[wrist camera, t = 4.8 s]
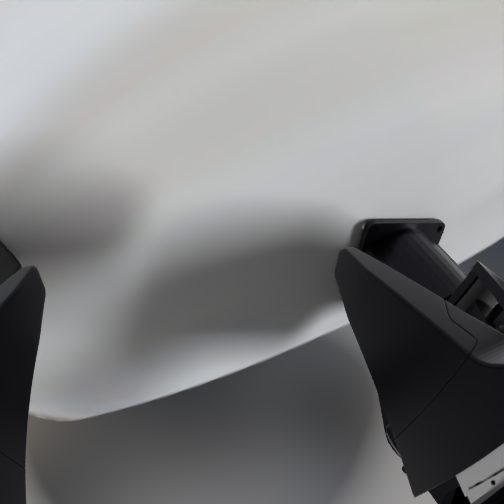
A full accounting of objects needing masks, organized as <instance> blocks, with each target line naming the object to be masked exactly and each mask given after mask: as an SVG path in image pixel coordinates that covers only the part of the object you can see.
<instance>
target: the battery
mask: <svg viewBox="0 0 504 504" xmlns="http://www.w3.org/2000/svg"><path fill="white" fill-rule="evenodd" d="M20 269H21V264H20V262H19V261H18V260H17V259H16V258H15V256H14V255H13V254H12V253H11V252H10V251H9V250H8V249H7V247H6V246H5V245H4V244H3V243H2V242H1V241H0V285H1V284H2V283H4V282H5V281H6V280H7V279H9V278H10V277H11V276H12V275H13V274H15V273H16V272H17V271H19V270H20Z"/></svg>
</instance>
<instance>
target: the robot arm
mask: <svg viewBox="0 0 504 504" xmlns="http://www.w3.org/2000/svg"><path fill="white" fill-rule="evenodd" d="M373 228H374V230H372V229H373ZM444 228H445V224H444V223H443V222H442V221H441V220H439V219H425V220H371V221H369V222H368V223H367V224H366V225H365V228H364V231H363V235H362V238H361V241H360V245H359V248H358V249H357V248H355V247H348V248H342V249H341V250H340V253H339V257H338V260H337V264H336V268H335V278H336V281H337V284H338V288H339V291H340V294H341V297H342V301H343V304H344V307H345V311H346V314H347V317H348V320H349V322H350V325H351V327H352V329H353V332H354V334H355V336H356V339H357V341H358V344H359V346H360V349H361V351H362V354H363V356H364V359H365V361H366V364H367V366H368V369H369V371H370V374H371V376H372V379H373V381H374V384H375V386H376V389H377V392H378V396H379V401H380V406H381V412H382V418H383V423H384V429H385V433H386V437H387V440H388V443H389V444H390V445H391V447H392V449H393V450H394V451H395V452H396V454H398V456H399V457H401V459H402V462H403V465H404V466H403V467H402V470H403V472H404V473H406V474H407V476H408V480H409V483H410V486H411V490H412V493H413V495H414V497H417V496H419V495H421V494H423V493H425V492H427V491H429V492H430V494H431V495H432V496H433V498H434V499H435V501H436V502H437V503H438V504H504V281H502V279H500V278H499V277H498V276H497V275H495V274H494V273H493V272H492V271H490V270H489V269H488V268H487V267H485V266H484V265H483V264H482V263H480V262H479V261H476V262H475V264H474V265H473V266H472V267H471V269H472V270H471V272H470V273H469V274H468V275H467V274H466V273H464V271H463V270H462V269H461V268H460V267H459V266H458V265H457V264H456V262H455V261H454V260H453V259H452V258H451V257H450V256H449V255H448V254H447V253H446V252H445V251H444V250H443V249H442V248H441V247H440V246H439V245H438V244H439V241H440V239H441V236H442V234H443V231H444ZM45 295H46V292H45V287H44V284H43V282H42V279H41V277H40V274H39V272H38V269H37V268H36V267H35V266H25V267H22V268H21V269H20V270H19V271H17V272H16V273H15V274H13V275H12V276H11V277H10V278H9V279H7V280H6V281H5V282H4V283H2V284H1V285H0V504H26V488H25V487H26V486H25V456H26V436H27V435H26V434H27V421H28V412H29V403H30V394H31V387H32V380H33V373H34V367H35V362H36V356H37V351H38V345H39V340H40V333H41V324H42V316H43V309H44V302H45ZM496 301H498V304H497V305H496V306H495V307H494V308H492V306H493V305H494V303H495V302H496Z"/></svg>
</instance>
